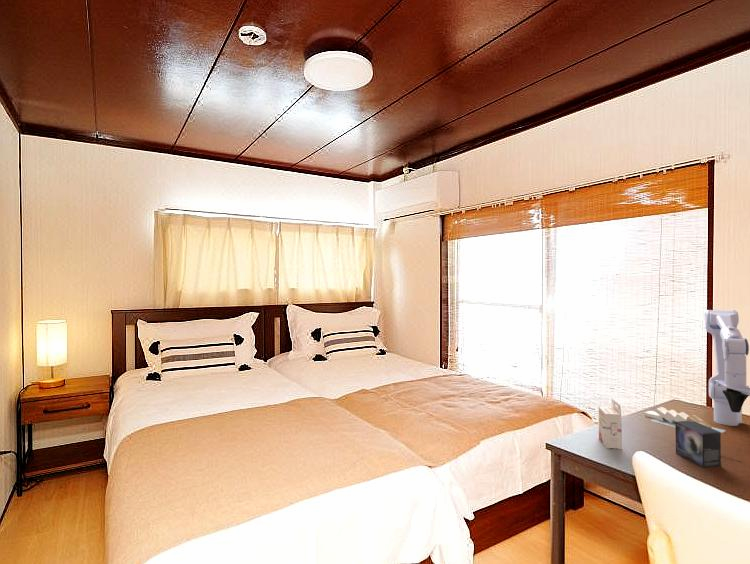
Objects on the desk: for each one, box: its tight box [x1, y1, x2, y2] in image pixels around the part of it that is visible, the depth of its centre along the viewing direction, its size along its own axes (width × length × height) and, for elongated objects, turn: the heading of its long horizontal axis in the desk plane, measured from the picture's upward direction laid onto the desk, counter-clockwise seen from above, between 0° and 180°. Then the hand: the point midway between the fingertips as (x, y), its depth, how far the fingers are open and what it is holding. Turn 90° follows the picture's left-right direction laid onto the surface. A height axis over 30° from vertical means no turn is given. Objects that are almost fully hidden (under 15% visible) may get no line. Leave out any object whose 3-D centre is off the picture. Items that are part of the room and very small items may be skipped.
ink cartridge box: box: [598, 398, 623, 450], centre depth 143 cm, size 9×5×15 cm, turn 168°
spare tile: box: [686, 414, 713, 428], centre depth 153 cm, size 4×2×6 cm
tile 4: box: [654, 406, 675, 423], centre depth 163 cm, size 4×2×6 cm
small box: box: [674, 421, 722, 468], centre depth 130 cm, size 11×6×10 cm, turn 5°
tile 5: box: [644, 410, 666, 421], centre depth 166 cm, size 4×2×6 cm
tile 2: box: [675, 411, 690, 421], centre depth 157 cm, size 4×2×6 cm
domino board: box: [649, 418, 727, 434], centre depth 157 cm, size 12×20×1 cm, turn 30°
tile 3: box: [665, 409, 680, 422], centre depth 160 cm, size 4×2×6 cm
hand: (735, 411), depth 146 cm, fingers closed
